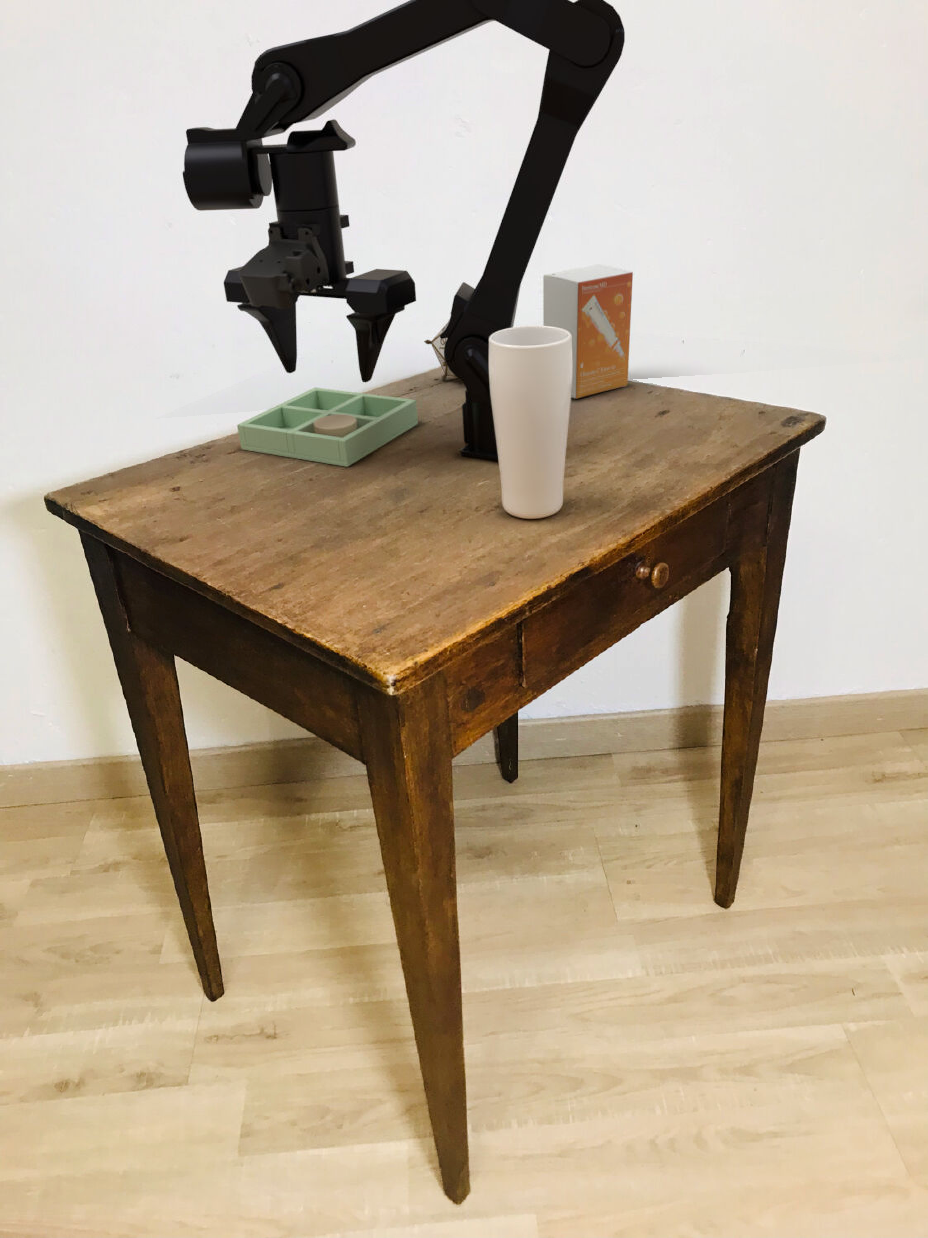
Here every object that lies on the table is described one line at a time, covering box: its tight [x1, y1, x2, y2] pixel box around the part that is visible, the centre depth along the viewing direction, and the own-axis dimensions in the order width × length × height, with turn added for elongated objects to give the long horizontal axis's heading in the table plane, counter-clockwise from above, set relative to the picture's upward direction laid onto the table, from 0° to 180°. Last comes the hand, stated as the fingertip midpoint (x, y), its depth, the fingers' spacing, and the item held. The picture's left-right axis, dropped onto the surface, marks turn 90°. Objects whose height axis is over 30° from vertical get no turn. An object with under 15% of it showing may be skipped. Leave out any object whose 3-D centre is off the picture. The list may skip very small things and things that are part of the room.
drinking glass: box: [488, 325, 573, 520], centre depth 79 cm, size 7×7×15 cm
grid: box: [236, 387, 419, 468], centre depth 101 cm, size 14×14×3 cm
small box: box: [542, 264, 634, 400], centre depth 109 cm, size 8×6×13 cm
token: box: [313, 415, 358, 438], centre depth 97 cm, size 4×4×2 cm
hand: (328, 376), depth 94 cm, fingers open, 9 cm apart
